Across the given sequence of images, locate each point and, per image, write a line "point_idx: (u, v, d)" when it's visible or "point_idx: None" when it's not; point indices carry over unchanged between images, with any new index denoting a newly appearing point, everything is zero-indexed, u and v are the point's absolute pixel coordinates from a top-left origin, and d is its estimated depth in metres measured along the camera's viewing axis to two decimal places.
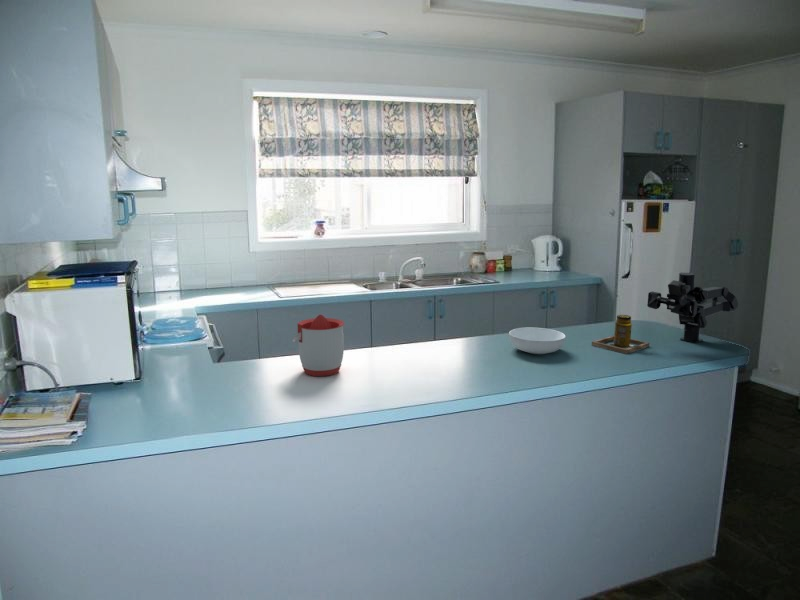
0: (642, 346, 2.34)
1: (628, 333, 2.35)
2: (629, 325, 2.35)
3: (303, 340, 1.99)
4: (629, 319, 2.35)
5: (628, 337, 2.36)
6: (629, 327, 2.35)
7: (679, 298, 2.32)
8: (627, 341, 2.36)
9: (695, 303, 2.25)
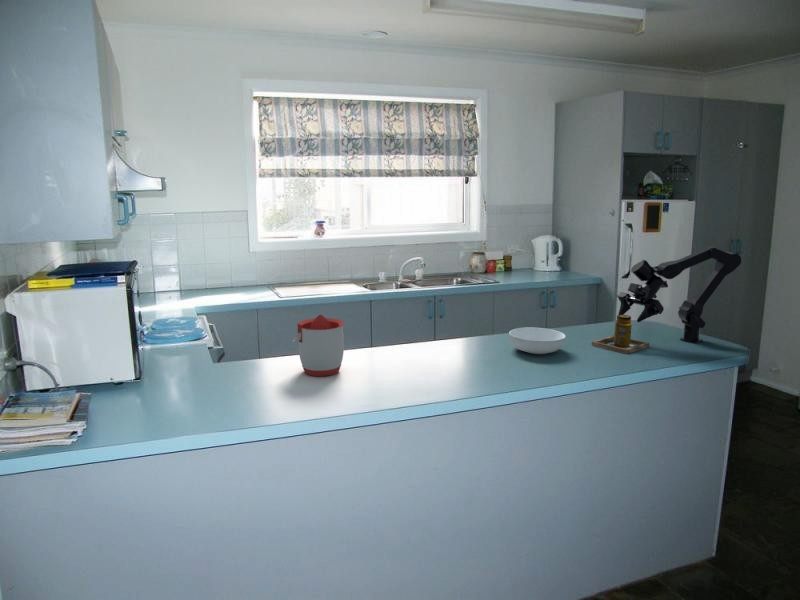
0: (642, 346, 2.34)
1: (628, 333, 2.35)
2: (629, 325, 2.35)
3: (303, 340, 1.99)
4: (629, 319, 2.35)
5: (628, 337, 2.36)
6: (629, 327, 2.35)
7: (643, 297, 2.37)
8: (627, 341, 2.36)
9: (656, 304, 2.30)
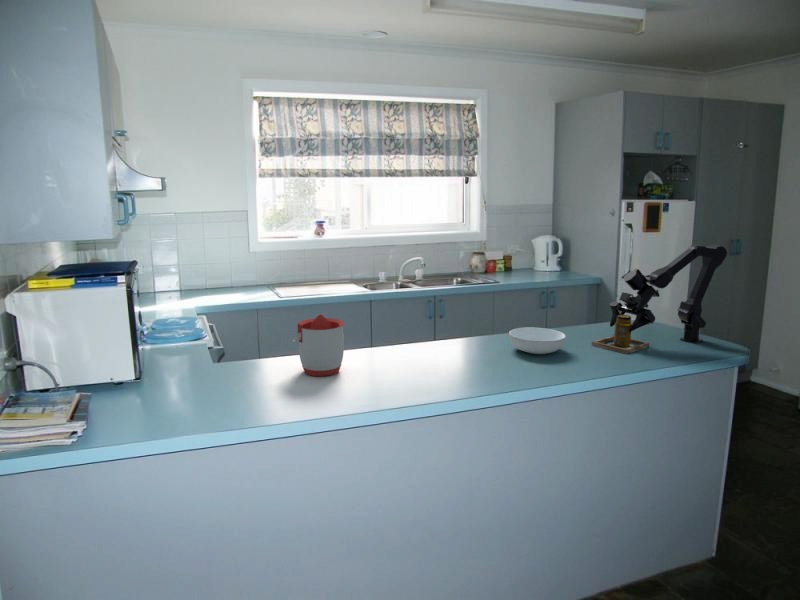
0: (642, 346, 2.34)
1: (628, 333, 2.35)
2: (629, 325, 2.35)
3: (303, 340, 1.99)
4: (629, 319, 2.35)
5: (628, 337, 2.36)
6: (629, 327, 2.35)
7: (635, 307, 2.35)
8: (627, 341, 2.36)
9: (648, 314, 2.29)
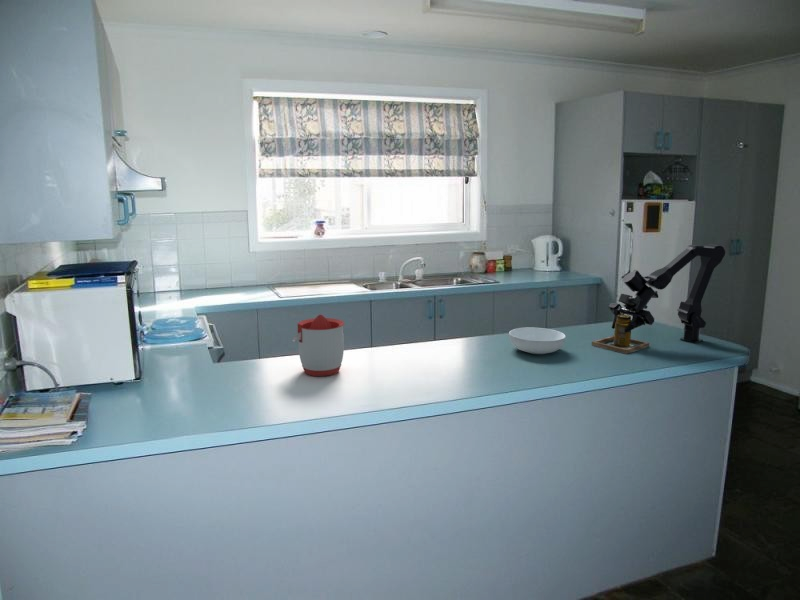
0: (642, 346, 2.34)
1: (628, 333, 2.35)
2: None
3: (303, 340, 1.99)
4: (629, 319, 2.35)
5: (628, 337, 2.36)
6: None
7: (634, 308, 2.35)
8: (627, 341, 2.36)
9: (647, 315, 2.29)
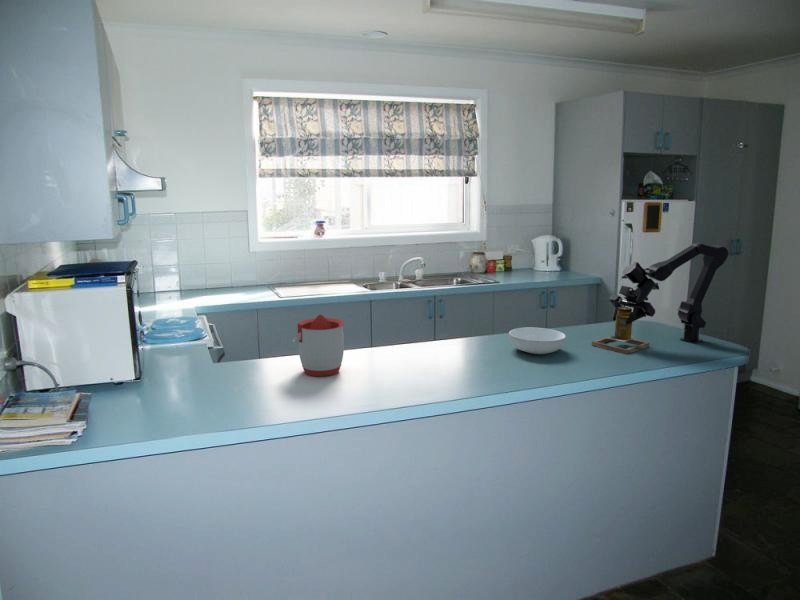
0: (642, 346, 2.34)
1: (629, 325, 2.35)
2: None
3: (303, 340, 1.99)
4: (630, 311, 2.34)
5: (629, 329, 2.35)
6: None
7: (635, 300, 2.35)
8: (628, 333, 2.35)
9: (648, 307, 2.28)
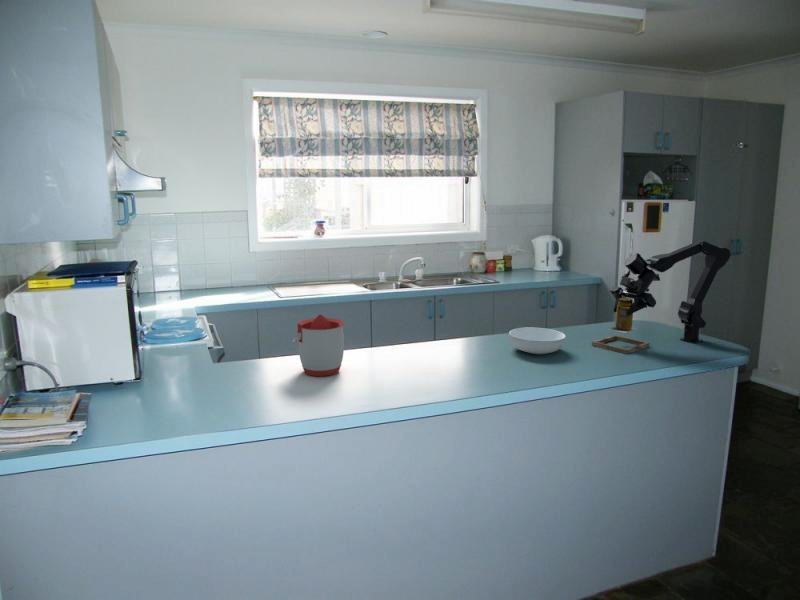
0: (642, 346, 2.34)
1: (630, 316, 2.34)
2: None
3: (303, 340, 1.99)
4: (631, 302, 2.33)
5: (630, 320, 2.34)
6: None
7: (635, 291, 2.34)
8: (629, 324, 2.34)
9: (649, 297, 2.28)
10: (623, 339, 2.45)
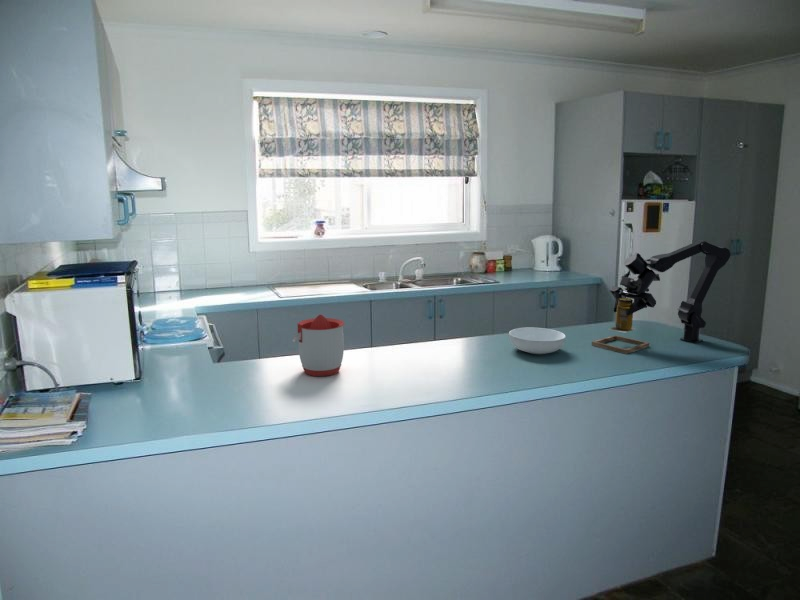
0: (642, 346, 2.34)
1: (630, 316, 2.34)
2: None
3: (303, 340, 1.99)
4: (631, 302, 2.33)
5: (630, 320, 2.34)
6: None
7: (635, 291, 2.34)
8: (629, 324, 2.34)
9: (649, 297, 2.28)
10: (623, 339, 2.45)
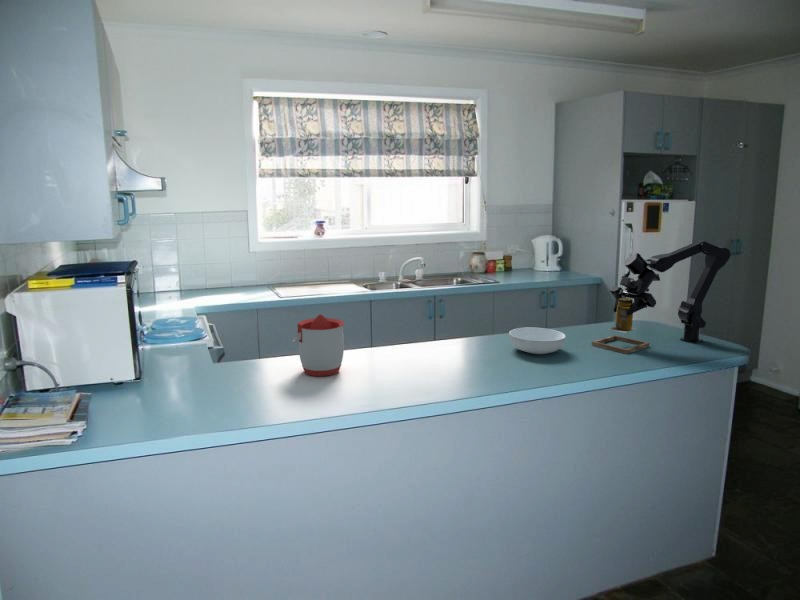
0: (642, 346, 2.34)
1: (630, 316, 2.34)
2: None
3: (303, 340, 1.99)
4: (631, 302, 2.33)
5: (630, 320, 2.34)
6: None
7: (635, 291, 2.34)
8: (629, 324, 2.34)
9: (649, 297, 2.28)
10: (623, 339, 2.45)
